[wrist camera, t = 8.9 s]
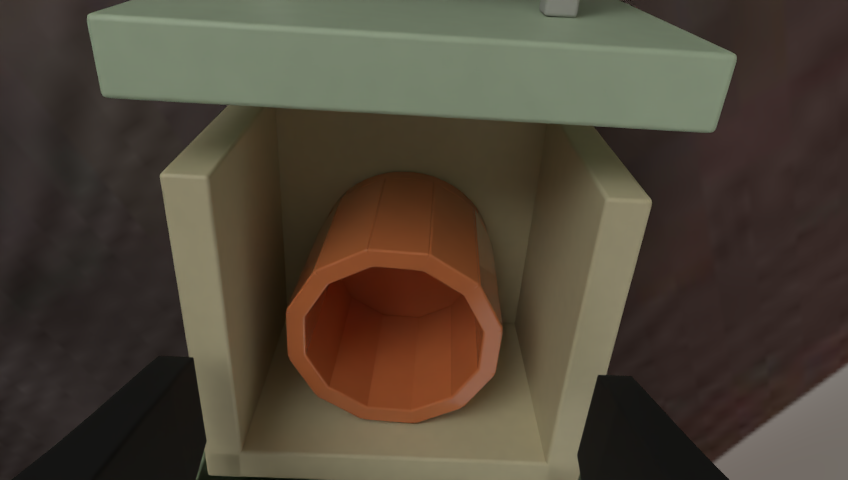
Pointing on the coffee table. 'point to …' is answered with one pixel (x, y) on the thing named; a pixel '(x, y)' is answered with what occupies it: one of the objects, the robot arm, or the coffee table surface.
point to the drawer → (406, 152)
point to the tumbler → (398, 302)
